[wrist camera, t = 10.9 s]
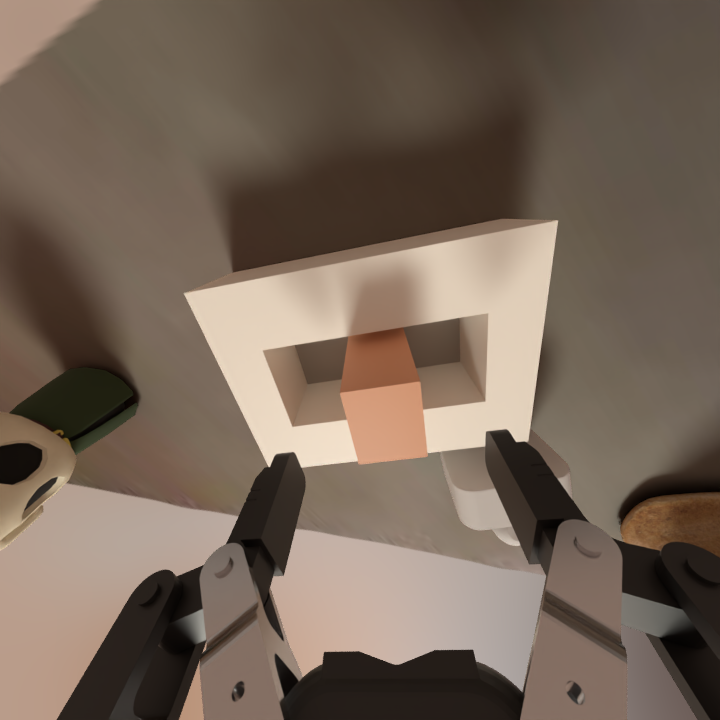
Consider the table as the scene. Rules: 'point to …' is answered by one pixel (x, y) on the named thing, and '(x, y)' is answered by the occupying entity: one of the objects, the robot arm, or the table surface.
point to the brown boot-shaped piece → (675, 521)
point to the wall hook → (490, 487)
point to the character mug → (53, 440)
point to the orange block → (383, 397)
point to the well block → (383, 312)
